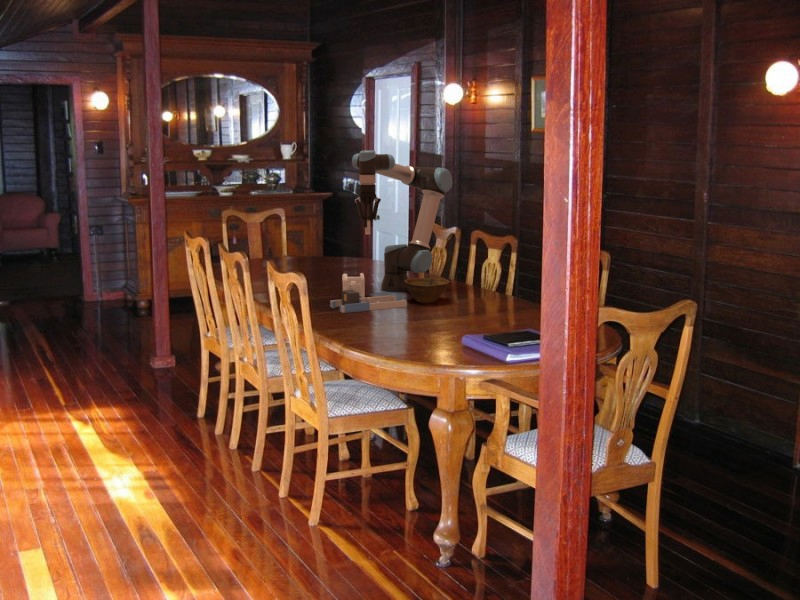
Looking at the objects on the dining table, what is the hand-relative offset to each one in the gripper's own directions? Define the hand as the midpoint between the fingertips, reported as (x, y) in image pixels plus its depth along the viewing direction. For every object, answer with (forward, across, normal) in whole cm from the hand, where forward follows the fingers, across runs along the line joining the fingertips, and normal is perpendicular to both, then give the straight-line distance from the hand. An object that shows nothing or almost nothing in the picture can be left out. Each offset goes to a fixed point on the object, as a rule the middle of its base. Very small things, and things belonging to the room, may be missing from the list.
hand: (367, 234), depth 435 cm
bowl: (+33, -26, +11) cm, 43 cm away
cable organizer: (+33, +3, -11) cm, 35 cm away
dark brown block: (+33, +14, +12) cm, 37 cm away
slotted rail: (+32, +5, +12) cm, 35 cm away
